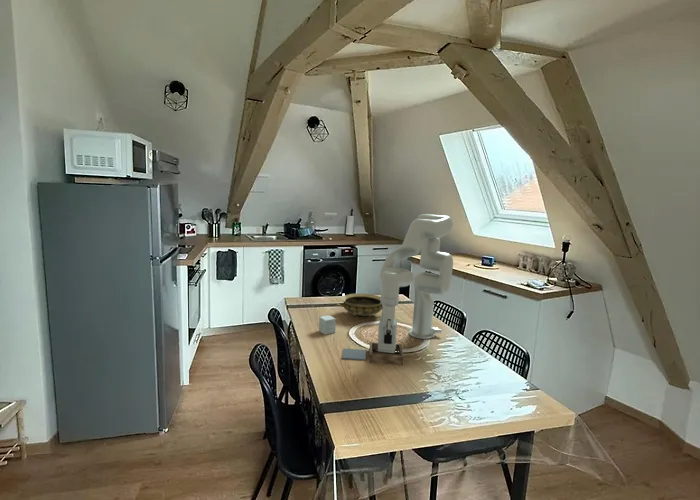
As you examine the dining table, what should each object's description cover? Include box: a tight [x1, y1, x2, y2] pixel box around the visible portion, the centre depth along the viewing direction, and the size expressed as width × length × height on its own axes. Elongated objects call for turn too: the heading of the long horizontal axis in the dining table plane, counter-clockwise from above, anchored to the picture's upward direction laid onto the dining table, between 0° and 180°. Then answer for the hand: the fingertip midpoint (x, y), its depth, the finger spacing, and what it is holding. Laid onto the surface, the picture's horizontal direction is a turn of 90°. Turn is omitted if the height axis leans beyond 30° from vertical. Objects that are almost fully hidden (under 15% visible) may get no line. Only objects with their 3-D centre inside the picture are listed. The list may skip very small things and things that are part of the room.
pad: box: [341, 348, 367, 362], centre depth 181 cm, size 10×10×1 cm
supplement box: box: [377, 317, 398, 354], centre depth 179 cm, size 7×7×13 cm
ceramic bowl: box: [336, 293, 383, 319], centre depth 233 cm, size 30×24×10 cm
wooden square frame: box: [368, 341, 405, 366], centre depth 180 cm, size 14×14×4 cm
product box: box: [318, 315, 337, 336], centre depth 207 cm, size 6×6×7 cm
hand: (387, 339), depth 180 cm, fingers closed on supplement box, 7 cm apart
